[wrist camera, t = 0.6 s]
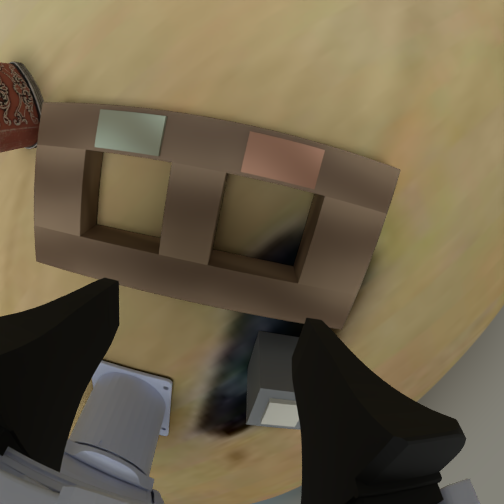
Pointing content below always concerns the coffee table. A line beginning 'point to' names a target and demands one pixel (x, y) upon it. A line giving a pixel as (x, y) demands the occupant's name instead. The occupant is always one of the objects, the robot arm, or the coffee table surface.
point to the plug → (272, 382)
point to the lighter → (18, 107)
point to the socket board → (207, 210)
